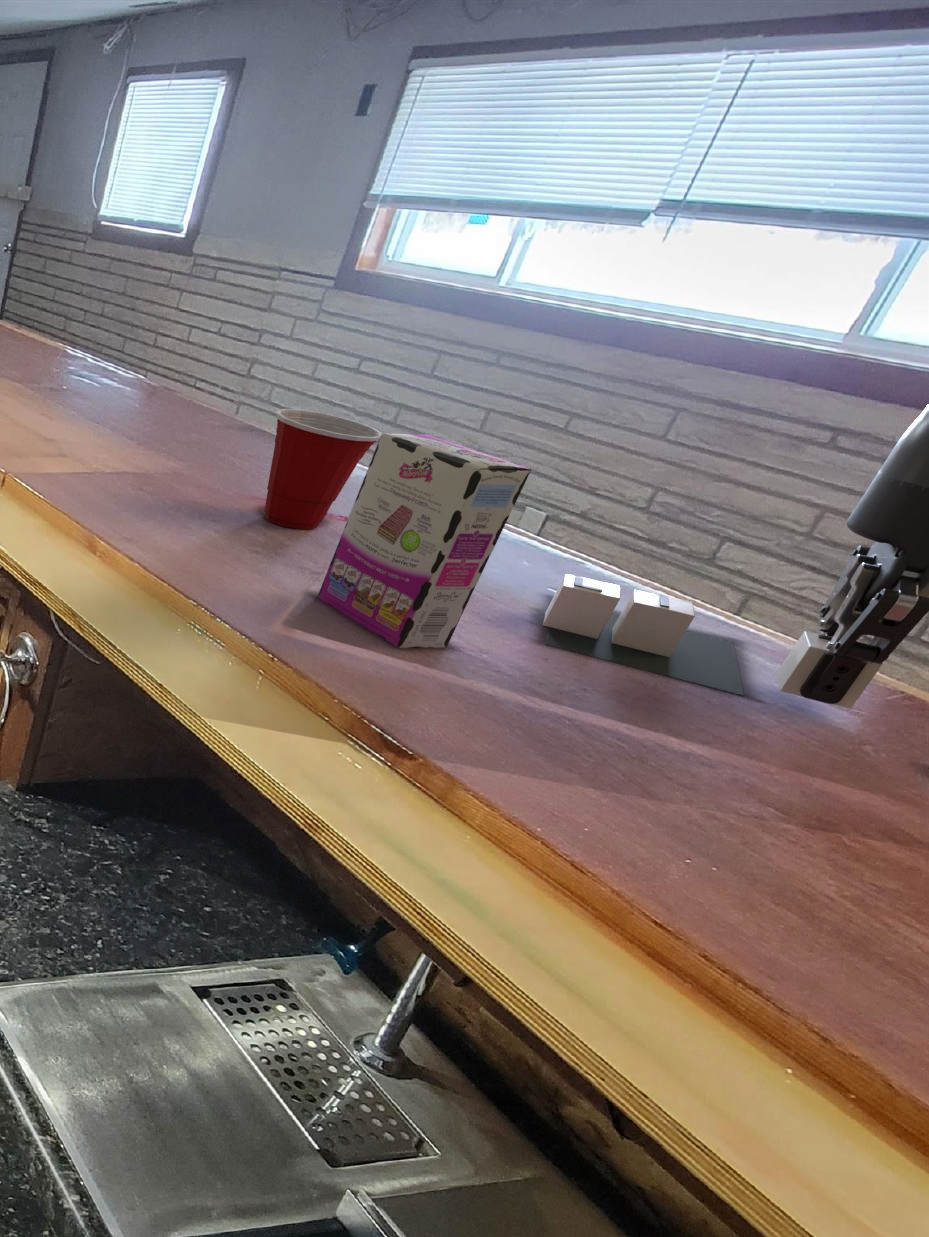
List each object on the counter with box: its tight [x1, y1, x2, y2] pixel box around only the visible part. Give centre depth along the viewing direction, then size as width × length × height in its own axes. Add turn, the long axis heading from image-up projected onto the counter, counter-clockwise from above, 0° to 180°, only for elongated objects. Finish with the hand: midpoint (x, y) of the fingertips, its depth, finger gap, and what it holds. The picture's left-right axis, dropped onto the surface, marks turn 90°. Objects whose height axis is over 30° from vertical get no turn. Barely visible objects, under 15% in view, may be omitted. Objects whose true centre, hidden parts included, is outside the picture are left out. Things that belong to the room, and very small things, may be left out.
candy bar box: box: [317, 433, 533, 649], centre depth 86 cm, size 11×5×16 cm, turn 6°
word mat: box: [545, 612, 745, 697], centre depth 87 cm, size 13×14×1 cm
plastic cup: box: [263, 408, 383, 530], centre depth 112 cm, size 11×11×12 cm
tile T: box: [775, 630, 884, 709], centre depth 77 cm, size 4×4×4 cm
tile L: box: [542, 573, 622, 639], centre depth 89 cm, size 4×4×4 cm
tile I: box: [611, 588, 696, 657], centre depth 86 cm, size 4×4×4 cm
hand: (814, 687), depth 78 cm, fingers closed on tile T, 4 cm apart
